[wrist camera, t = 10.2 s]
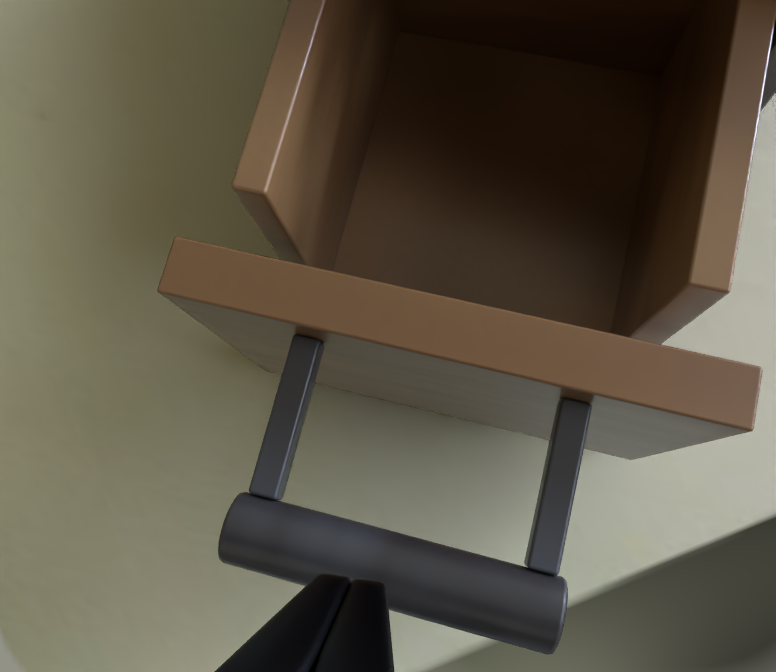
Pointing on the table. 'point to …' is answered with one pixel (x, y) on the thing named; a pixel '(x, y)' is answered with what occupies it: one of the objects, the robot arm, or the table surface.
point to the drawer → (486, 258)
